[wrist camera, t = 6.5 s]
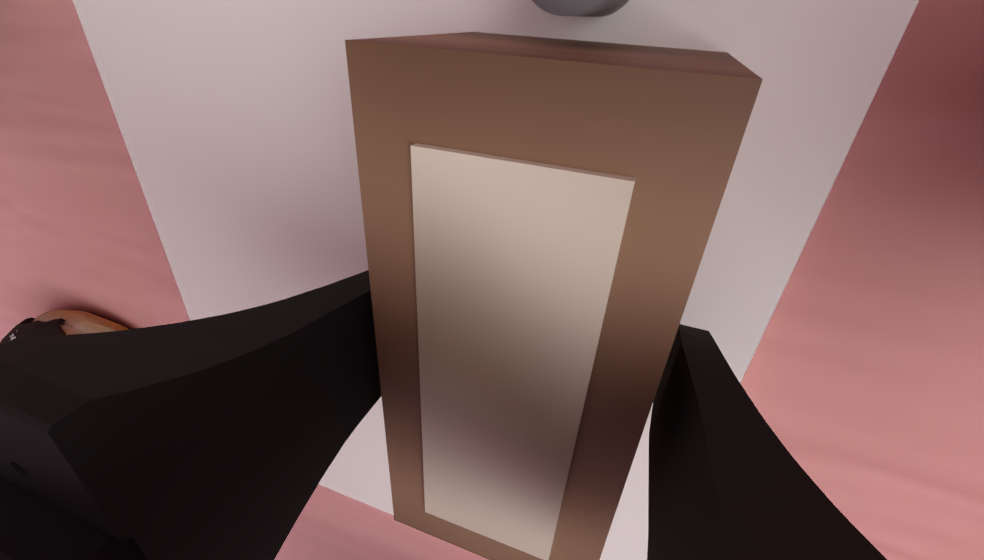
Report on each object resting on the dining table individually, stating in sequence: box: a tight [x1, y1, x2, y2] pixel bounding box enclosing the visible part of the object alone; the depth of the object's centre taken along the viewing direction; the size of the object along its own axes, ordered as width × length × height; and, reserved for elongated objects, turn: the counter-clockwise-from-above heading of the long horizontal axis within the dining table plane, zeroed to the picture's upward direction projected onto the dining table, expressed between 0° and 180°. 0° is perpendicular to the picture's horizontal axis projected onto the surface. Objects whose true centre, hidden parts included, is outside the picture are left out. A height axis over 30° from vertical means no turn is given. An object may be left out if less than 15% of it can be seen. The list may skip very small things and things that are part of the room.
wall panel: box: [73, 0, 919, 560], centre depth 14 cm, size 22×20×4 cm
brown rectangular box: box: [345, 32, 763, 560], centre depth 10 cm, size 11×5×5 cm, turn 177°
